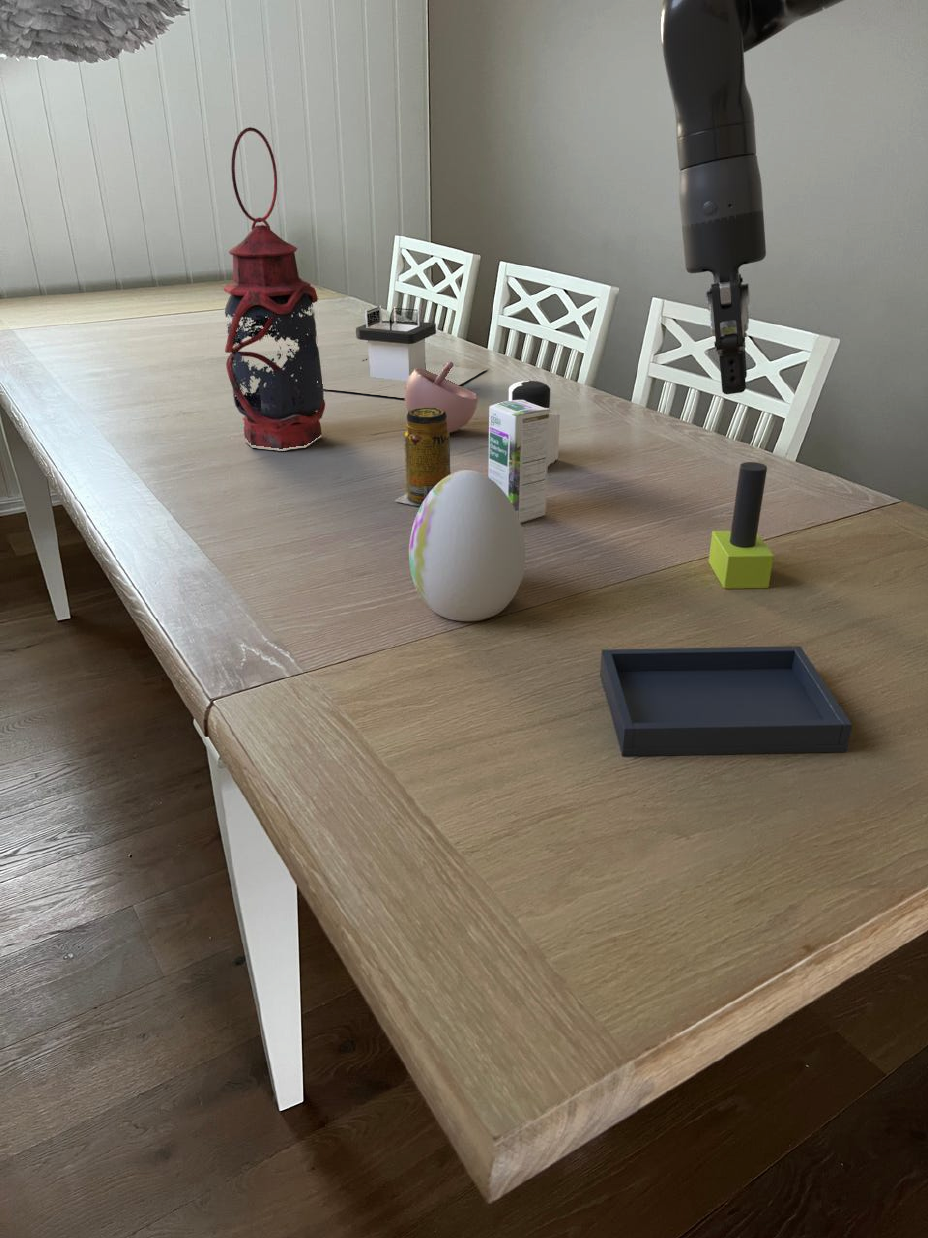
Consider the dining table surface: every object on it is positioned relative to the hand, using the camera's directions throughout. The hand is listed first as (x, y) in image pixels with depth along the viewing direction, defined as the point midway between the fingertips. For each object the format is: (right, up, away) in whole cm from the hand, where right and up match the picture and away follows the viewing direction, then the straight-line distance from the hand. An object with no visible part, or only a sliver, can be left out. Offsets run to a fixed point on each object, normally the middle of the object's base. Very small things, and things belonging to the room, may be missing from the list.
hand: (735, 386), depth 93 cm
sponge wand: (+4, -19, +12) cm, 22 cm away
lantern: (-57, +5, +57) cm, 81 cm away
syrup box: (-21, -10, +29) cm, 37 cm away
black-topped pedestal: (-41, +24, +91) cm, 102 cm away
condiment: (-32, -7, +34) cm, 47 cm away
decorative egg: (-27, -22, +7) cm, 36 cm away
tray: (-5, -32, -12) cm, 34 cm away
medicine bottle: (-18, 0, +46) cm, 49 cm away
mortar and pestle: (-31, +7, +60) cm, 68 cm away
